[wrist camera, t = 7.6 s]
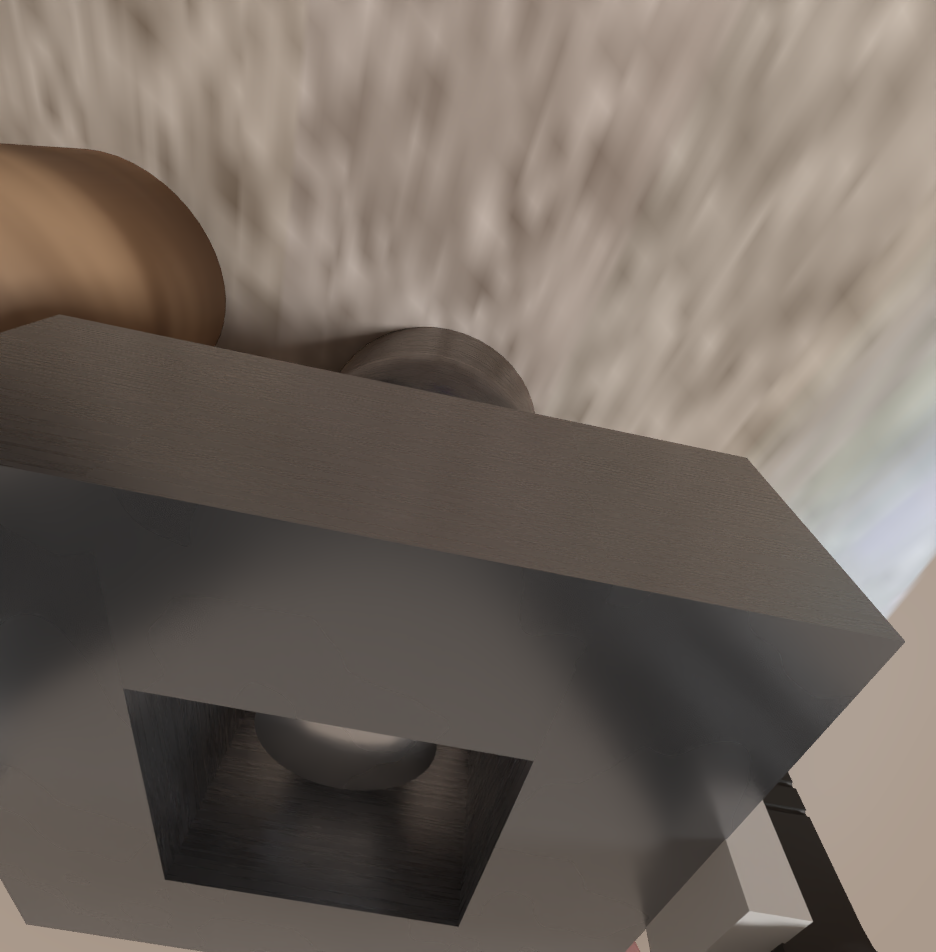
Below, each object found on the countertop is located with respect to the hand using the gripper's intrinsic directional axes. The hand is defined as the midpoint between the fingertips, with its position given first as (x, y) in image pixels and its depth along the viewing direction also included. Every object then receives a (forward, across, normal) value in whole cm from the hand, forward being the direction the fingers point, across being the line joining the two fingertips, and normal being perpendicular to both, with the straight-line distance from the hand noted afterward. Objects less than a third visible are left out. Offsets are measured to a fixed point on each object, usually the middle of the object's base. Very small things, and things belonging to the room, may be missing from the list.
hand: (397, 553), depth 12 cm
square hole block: (-2, 0, 0) cm, 2 cm away
